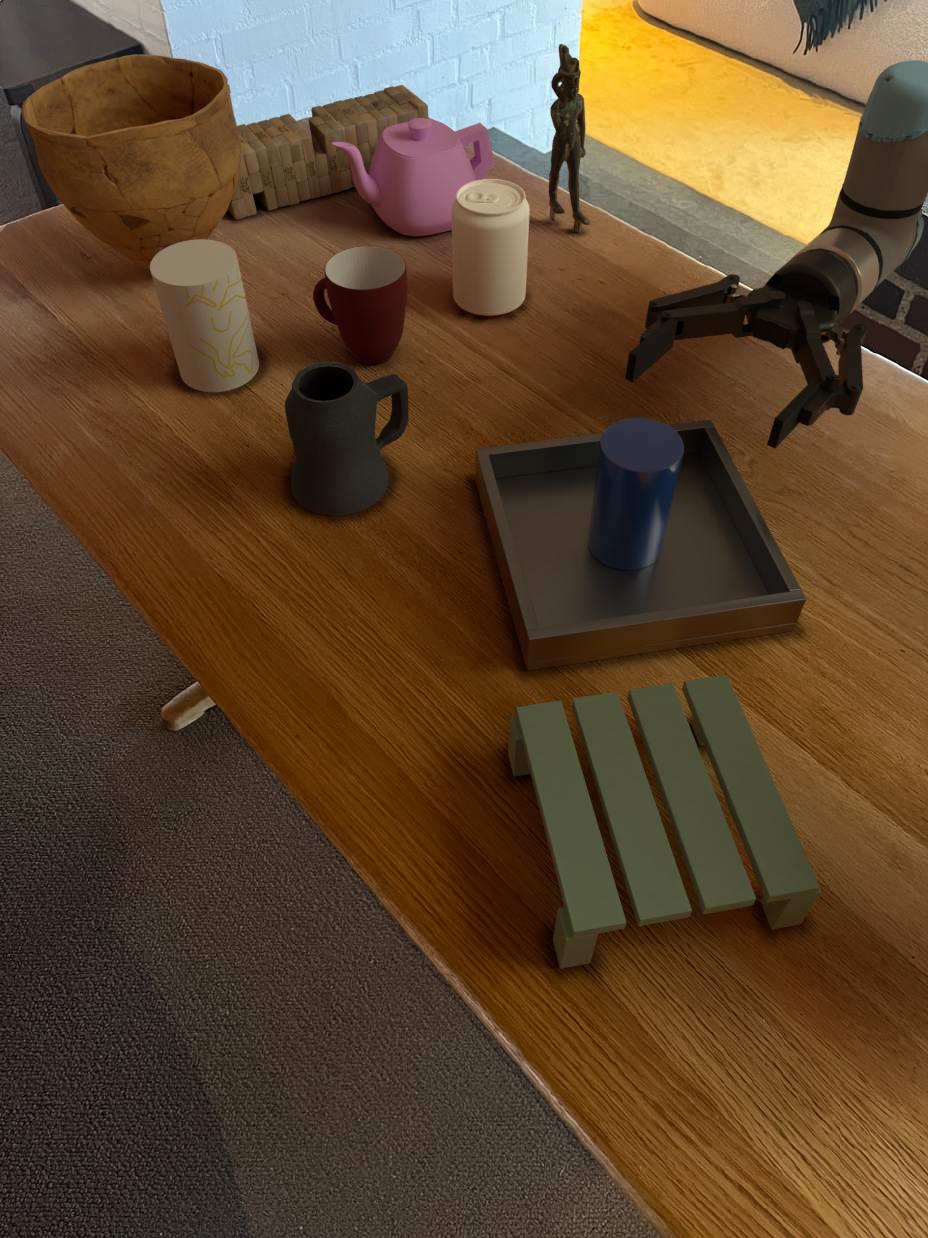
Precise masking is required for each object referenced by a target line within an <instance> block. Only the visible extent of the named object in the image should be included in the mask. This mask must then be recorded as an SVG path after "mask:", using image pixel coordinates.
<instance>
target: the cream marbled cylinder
mask: <svg viewBox="0 0 928 1238" xmlns="http://www.w3.org/2000/svg"><path fill="white" fill-rule="evenodd" d="M150 274H151V277H152V278H151V279H152V281H153V285H154V288H155V291H156V295H157V298H158V302H159V305H160V309H161V312H162V315H163V319H164V323H165V326H166V330H167V333H168V337H169V341H170V343H171V347H172V350H173V353H174V358H175V361H176V364H177V367H178V368H177V369H178V371H179V374H180V378H181V380H182V381H183V383H184V384H185V385H186V386H188V387H189V388H191V389H194V390H196V391H200V392H204V393H222V392H227V391H232V390H235V389H238V388H240V387H241V386H244V385H245V384H247V383H249V382H250V381H251V380H252V379H253V378H255V376H256V375H257V373H258V371H259V368H260V361H259V360H260V359H259V355H258V351H257V345H256V341H255V336H254V331H253V326H252V321H251V317H250V314H249V313H250V312H249V307H248V303H247V297H246V294H245V288H244V284H243V278H242V273H241V269H240V264H239V259H238V255H237V252H236V251H235V249H234V248H232V246H231V245H229V244H226V243H225V242H222V241H218V240H215V239H208V240H206V239H197V240H188V241H183V242H179V243H176V244H173V245H171V246H168V247H166V248H165V249H163V250H161V251H160V252H159V253H157V254H156V255H155V256H154V258H153V259H152V261H151V263H150Z"/></svg>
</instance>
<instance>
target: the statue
mask: <svg viewBox="0 0 928 1238" xmlns="http://www.w3.org/2000/svg"><path fill="white" fill-rule="evenodd" d="M558 58H559V67H558V69H557V72H556V73H555V74H554V75H553V76H552V79H551V82H550V83H551V84H550V85H551V89H552V91H553V93H554V94H555V96H556V97H557V98H556V99H555V100H554V101H553V102H552V104H551V105H550V108H549V111H550V113H549V114H550V118H551V123H552V125H553V128H554V130H555V133H554V136H553V137H552V138H553V139H552V143H551V155H550V170H549V173H548V197H549V198H548V199H549V200H548V206H549V218H550V221H552V222H556V221H557V218H558V215H563V214H565V212H566V211H565V209H564V208H563V207H562V205H561V204H560V203H559V201H558V190H559V189H558V188H559V184H560V183H559V182H560V171H561V169H562V166H563V165H564V162H566V166H567V172H568V181H567V182H568V183H567V185H568V187H567V188H568V193H569V199H570V204H571V205H570V206H571V210H572V218H573V232H574V233H575V234H580V233H581V232H582V226H583V225H585V226H590V225H591V224H592V223H591V220H590V219H589V218H588V217H586V216H585V215H584V214H583V212H582V210H581V206H580V180H579V179H580V174H579V173H580V167H581V166H580V165H581V159H584V157H585V156H586V155H587V152H586V151H587V150H586V149H585V141H586V140H585V139H586V110H585V108H586V107H585V98H584V96H583V95H582V94H581V93H579V92H580V79H581V75H582V74H581V73H582V71H581V69H580V60H579V59H578V58H577V57H573V56H572V55H571V53H570V49H569V47H568V46H567V45H565V44H563V43H559V45H558ZM560 83H561V84H560Z"/></svg>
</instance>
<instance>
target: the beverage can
mask: <svg viewBox="0 0 928 1238" xmlns="http://www.w3.org/2000/svg"><path fill="white" fill-rule="evenodd" d="M530 209H531V208H530V203H529V202H528V200H527V199H526V193H525V190H524V189H523V188H522V187H521V186H519V185H518V184H517V183H514V182H512V181H509V180H506V179H499V178H482V179H481V180H476V181H472V182H469V183H467V184H465V185H463V186H462V187H461V188H460V189H459V190H458V191H457V194H456V199H455V200H454V202H453V205H452V230H451V258H452V260H451V261H452V263H451V265H452V297H453V300H454V301H455V303H456V305H457V306H458V307H459V308H460V309H462V310H464V311H466V312H468V313H471V314H474V315H478V316H488V317H491V316H492V317H493V316H494V317H495V316H500V315H505V314H509V313H511V312H513V311H515V310H516V309H518V308H520V306H522V305H523V303H524V302H525V299H526V295H527V275H528V273H527V272H528V256H529V255H528V254H529V234H530V233H529V231H530V212H531V210H530Z"/></svg>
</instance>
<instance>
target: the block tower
mask: <svg viewBox="0 0 928 1238" xmlns="http://www.w3.org/2000/svg"><path fill="white" fill-rule="evenodd" d="M310 111H311V117H309V118H308V126H309V131H310V134H309V132H308V131H307V130H306V129H304V127H303V126H302V125H301V124H300V123H299V122H298V121H297V119H296V118H294V116H292V115H291V114H290V113H285V114H282V115H280V116H274V117H271V118H269V119H263V120H260V121H257V122H251V123H248V124H246V123H242V124H238V125H237V128H238V132H239V135H240V139H241V163H240V171H239V176H238V180H237V184H236V187H235V190H234V193H233V196H232V198H231V201H230V204H229V206H228V209H227V211H226V213H227V212H229V213H230V214H231V215H232V217H233V218H234V219H235V220H236V221H239V220H241V219H245V218H246V217H252V216H255V215H257V214H258V213H257V207H256V204H255V199H254V196H255V197H256V198H257V199H258V200H259V202H261V204H262V206H263V207H264V208H265V209H266V210H267V211H274V210H276V209H278V208H283V207H287V206H294V205H297V204H300V202H304V201H307V200H310V199H311V200H315V199H317V198H321V197H325V196H329V195H331V194H336V193H337V194H338V193H340V192H342V191H346V190H351V189H352V188H356V187H355V184H354V180H353V175H352V170H351V165H350V161H349V159H348V157H347V155H346V154H345V153H344V152H343V151H342V150H341V149H339V148H338V147H336V146H334V145H333V144H332V143H333V142H346V143H350V144H352V145H354V146H355V147H356V148H357V149H358V150H359V152H360V154H361V157H362V160H363V164H364V168H365V171H366V173H367V174H368V175H369V172H370V166H371V161H372V157H373V154H374V151H375V148H376V146H377V143H378V140H379V138H380V136H381V134H382V132H383V131H384V130H385V129H386V128H387V127H390V126H393V125H396V124H400V123H405V122H409V121H410V120H412V119H415V118H425V119H430V116H429V105H428V104H427V103H426V102H425V101H424V100H423V99H421V98H420V97H419V96H417V94H415V93H414V92H412V91H411V90H410V89H409V88H408V87H406V86H405V85H404V84H399V85H396V86H393V85H392V86H388V87H385V88H383V89H381V90H377V91H375V92H373V93H368V94H365V95H359V96H356V97H351V98H350V97H349V98H347V99H343V100H342V99H340V100H336V101H333V102H329V103H327V104H323V105H315V106H312V107H311V109H310Z"/></svg>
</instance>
